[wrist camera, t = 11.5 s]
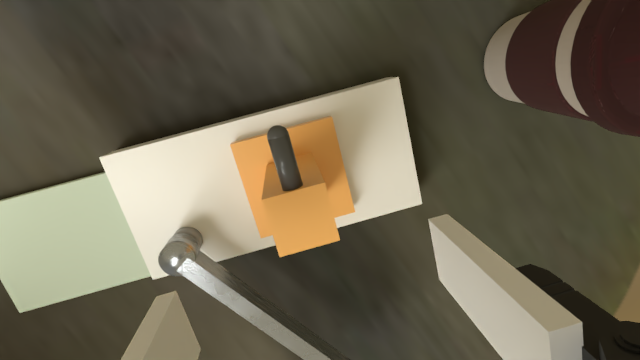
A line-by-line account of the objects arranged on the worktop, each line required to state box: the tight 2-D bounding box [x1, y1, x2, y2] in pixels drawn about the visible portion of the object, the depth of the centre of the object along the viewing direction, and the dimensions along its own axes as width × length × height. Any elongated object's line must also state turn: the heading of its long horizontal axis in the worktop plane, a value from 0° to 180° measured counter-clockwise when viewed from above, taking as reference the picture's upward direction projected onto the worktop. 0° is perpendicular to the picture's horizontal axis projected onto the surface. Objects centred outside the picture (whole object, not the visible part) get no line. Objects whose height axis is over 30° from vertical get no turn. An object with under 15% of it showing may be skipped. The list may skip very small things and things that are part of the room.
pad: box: [0, 172, 151, 313], centre depth 32 cm, size 12×10×1 cm
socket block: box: [99, 77, 422, 280], centre depth 31 cm, size 24×11×4 cm, turn 103°
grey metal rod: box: [158, 233, 350, 360], centre depth 30 cm, size 21×3×2 cm, turn 46°
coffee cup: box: [484, 0, 640, 137], centre depth 26 cm, size 10×10×15 cm
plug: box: [230, 116, 355, 257], centre depth 27 cm, size 8×9×13 cm
